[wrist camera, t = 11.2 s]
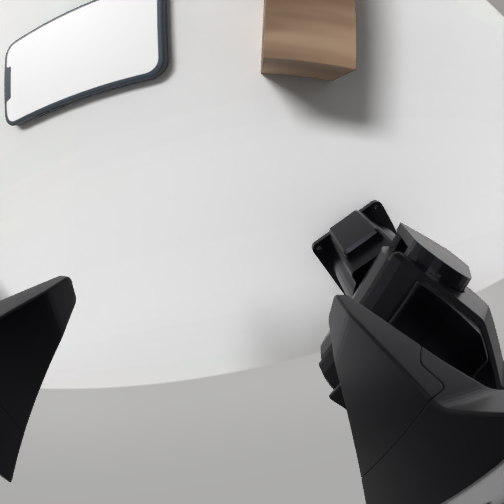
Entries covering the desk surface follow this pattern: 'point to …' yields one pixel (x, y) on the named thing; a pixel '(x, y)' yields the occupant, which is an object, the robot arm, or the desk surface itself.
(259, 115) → the desk surface
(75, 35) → the phone case
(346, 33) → the wooden block
